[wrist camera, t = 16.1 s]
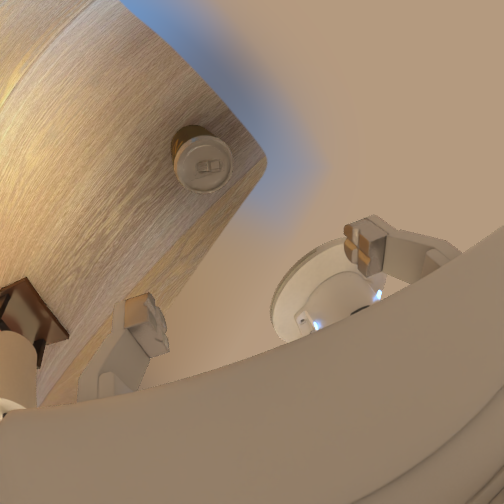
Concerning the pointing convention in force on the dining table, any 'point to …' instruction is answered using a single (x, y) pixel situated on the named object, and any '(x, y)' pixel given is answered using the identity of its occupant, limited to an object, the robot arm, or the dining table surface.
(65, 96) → the dining table surface
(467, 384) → the robot arm
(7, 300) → the holder base
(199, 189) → the beer can
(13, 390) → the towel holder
